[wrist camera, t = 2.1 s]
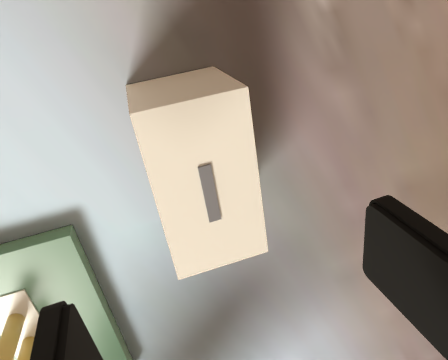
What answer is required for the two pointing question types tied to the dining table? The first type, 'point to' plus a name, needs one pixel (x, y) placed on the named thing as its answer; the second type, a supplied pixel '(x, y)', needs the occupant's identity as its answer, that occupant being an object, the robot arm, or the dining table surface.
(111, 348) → the board
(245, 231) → the plug housing
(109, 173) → the dining table surface
